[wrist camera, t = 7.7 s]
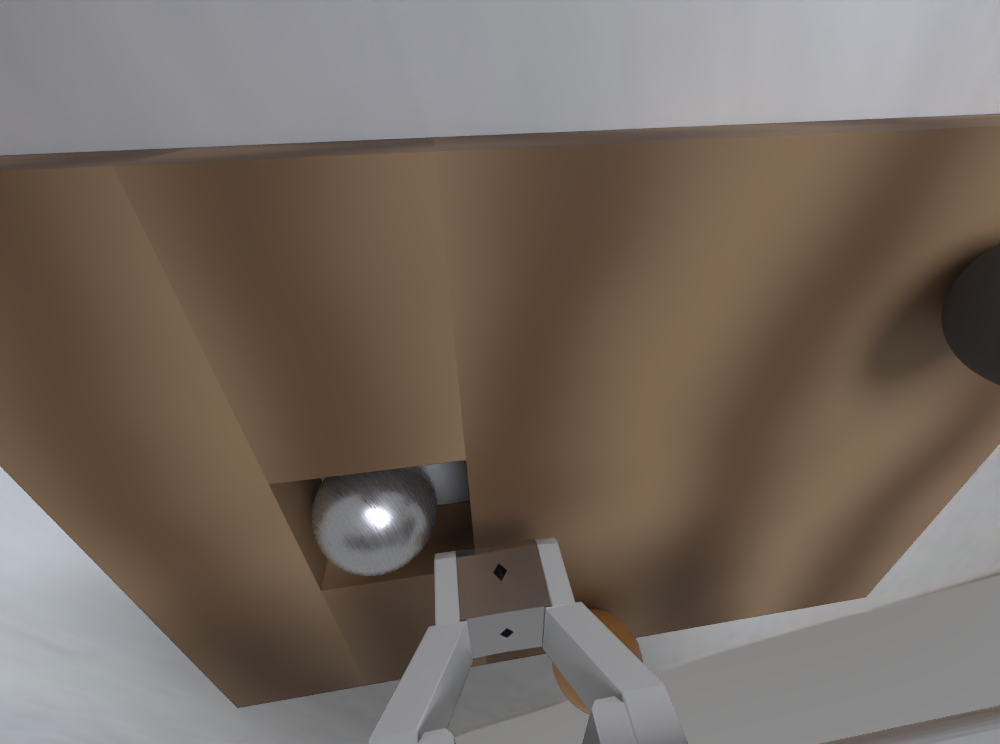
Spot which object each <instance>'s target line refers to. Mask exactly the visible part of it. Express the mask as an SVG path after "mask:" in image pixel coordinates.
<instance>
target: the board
mask: <svg viewBox="0 0 1000 744" xmlns="http://www.w3.org/2000/svg"><path fill="white" fill-rule="evenodd" d="M999 243H1000V114H984V115H961V116H937V117H913V118H889V119H865V120H841V121H817V122H793V123H769V124H745V125H721V126H697V127H673V128H649V129H625V130H602V131H578V132H554V133H530V134H506V135H482V136H458V137H434V138H410V139H386V140H362V141H338V142H314V143H290V144H266V145H243V146H219V147H195V148H171V149H147V150H123V151H99V152H75V153H51V154H27V155H3V156H0V466H1V467H2V468H3V469H4V470H5V471H6V472H7V473H8V474H9V475H10V476H11V477H12V478H13V479H14V481H15V482H16V483H17V484H18V485H19V486H20V487H21V488H22V489H23V490H24V491H25V492H26V493H27V494H28V495H29V496H30V497H31V498H32V499H33V500H34V501H35V502H36V503H37V504H38V505H39V506H40V507H41V508H42V509H43V510H44V511H45V512H46V513H47V514H48V515H49V516H50V517H51V518H52V519H53V520H54V521H55V522H56V523H57V524H58V525H59V526H60V527H61V528H62V529H63V530H64V532H65V533H66V534H67V535H68V536H69V537H70V538H71V539H72V540H73V541H74V542H75V543H76V544H77V545H78V546H79V547H80V548H81V549H82V550H83V551H84V552H85V553H86V554H87V555H88V556H89V557H90V558H91V559H92V560H93V561H94V562H95V563H96V564H97V565H98V566H99V567H100V568H101V569H102V570H103V571H104V572H105V573H106V574H107V575H108V576H109V577H110V578H111V579H112V580H113V582H114V583H115V584H116V585H117V586H118V587H119V588H120V589H121V590H122V591H123V592H124V593H125V594H126V595H127V596H128V597H129V598H130V599H131V600H132V601H133V602H134V603H135V604H136V605H137V606H138V607H139V608H140V609H141V610H142V611H143V612H144V613H145V614H146V615H147V616H148V617H149V618H150V619H151V620H152V621H153V622H154V623H155V624H156V625H157V626H158V627H159V628H160V629H161V630H162V631H163V633H164V634H165V635H166V636H167V637H168V638H169V639H170V640H171V641H172V642H173V643H174V644H175V645H176V646H177V647H178V648H179V649H180V650H181V651H182V652H183V653H184V654H185V655H186V656H187V657H188V658H189V659H190V660H191V661H192V662H193V663H194V664H195V665H196V666H197V667H198V668H199V669H200V670H201V671H202V672H203V673H204V674H205V675H206V676H207V677H208V678H209V679H210V680H211V681H212V682H213V684H214V685H215V686H216V687H217V688H218V689H219V690H220V691H221V692H222V693H223V694H224V695H225V696H226V697H227V698H228V699H229V700H230V701H231V702H232V703H233V704H234V705H235V706H236V707H237V708H240V707H246V706H252V705H257V704H263V703H269V702H274V701H280V700H286V699H291V698H297V697H303V696H308V695H314V694H320V693H325V692H331V691H337V690H342V689H348V688H354V687H359V686H365V685H371V684H376V683H382V682H388V681H393V680H399V679H401V678H402V676H403V674H404V672H405V671H406V669H407V667H408V665H409V663H410V661H411V659H412V657H413V655H414V654H415V652H416V650H417V648H418V646H419V644H420V642H421V640H422V639H423V637H424V635H425V633H426V631H427V629H428V627H429V626H434V625H435V579H434V560H435V554H438V553H444V552H451V551H460V550H467V549H474V548H481V547H488V546H495V545H499V544H505V543H511V542H518V541H524V540H530V539H539V538H545V537H552V536H554V537H555V539H556V540H557V542H558V545H559V549H560V552H561V556H562V559H563V562H564V566H565V569H566V573H567V576H568V579H569V583H570V586H571V590H572V593H573V596H574V600H575V602H582V603H583V604H584V605H585V606H586V607H587V608H588V609H599V610H604V611H606V612H609V613H611V614H613V615H614V616H616V617H617V618H619V619H620V620H621V621H622V622H623V623H624V624H625V625H626V626H627V627H628V628H629V629H630V631H631V632H632V633H633V635H634V637H635V638H637V637H643V636H649V635H654V634H660V633H666V632H671V631H677V630H683V629H688V628H694V627H700V626H705V625H711V624H717V623H722V622H728V621H734V620H739V619H745V618H751V617H756V616H762V615H768V614H773V613H779V612H785V611H790V610H796V609H802V608H807V607H813V606H819V605H824V604H830V603H836V602H841V601H847V600H853V599H858V598H864V597H866V596H867V595H868V594H869V593H870V592H871V591H872V590H873V588H874V587H875V586H876V585H877V584H878V583H879V582H880V580H881V579H882V578H883V577H884V576H885V575H886V573H887V572H888V571H889V570H890V569H891V568H892V567H893V565H894V564H895V563H896V562H897V561H898V560H899V559H900V557H901V556H902V555H903V554H904V553H905V552H906V551H907V549H908V548H909V547H910V546H911V545H912V544H913V542H914V541H915V540H916V539H917V538H918V537H919V536H920V534H921V533H922V532H923V531H924V530H925V529H926V528H927V526H928V525H929V524H930V523H931V522H932V521H933V520H934V518H935V517H936V516H937V515H938V514H939V513H940V511H941V510H942V509H943V508H944V507H945V506H946V505H947V503H948V502H949V501H950V500H951V499H952V498H953V497H954V495H955V494H956V493H957V492H958V491H959V490H960V489H961V487H962V486H963V485H964V484H965V483H966V482H967V481H968V479H969V478H970V477H971V476H972V475H973V474H974V472H975V471H976V470H977V469H978V468H979V467H980V466H981V464H982V463H983V462H984V461H985V460H986V459H987V458H988V456H989V455H990V454H991V453H992V452H993V451H994V450H995V448H996V447H997V446H998V445H999V444H1000V385H997V384H995V383H993V382H990V381H988V380H987V379H985V378H983V377H981V376H980V375H978V374H976V373H975V372H973V371H972V370H971V369H969V368H968V367H967V366H965V365H964V364H963V363H962V362H961V361H960V360H959V359H958V358H957V356H956V355H955V354H954V353H953V351H952V350H951V348H950V347H949V345H948V343H947V341H946V339H945V336H944V333H943V329H942V319H941V315H942V309H943V304H944V300H945V298H946V295H947V293H948V291H949V289H950V288H951V286H952V284H953V283H954V281H955V280H956V278H957V277H958V276H959V275H960V274H961V272H962V271H963V270H964V269H965V268H966V267H967V266H968V265H969V264H971V263H972V262H973V261H974V260H975V259H977V258H978V257H979V256H981V255H982V254H983V253H985V252H986V251H988V250H989V249H991V248H992V247H994V246H996V245H998V244H999ZM462 460H466V469H467V479H468V489H469V499H470V502H463V503H455V504H448V505H441V506H437V507H438V508H437V518H436V522H435V526H434V529H433V532H432V534H431V536H430V538H429V540H428V542H427V543H426V545H425V546H424V548H423V549H422V550H421V551H420V553H419V554H418V555H417V556H416V557H415V558H414V559H412V560H411V561H410V562H409V563H407V564H406V565H404V566H403V567H401V568H399V569H397V570H395V571H393V572H390V573H386V574H383V575H377V576H362V575H356V574H352V573H349V572H346V571H344V570H342V569H340V568H338V567H337V566H336V565H334V564H333V563H331V562H330V561H329V560H328V559H327V558H326V556H325V555H324V554H323V553H322V551H321V550H320V548H319V546H318V544H317V542H316V540H315V536H314V533H313V528H312V509H313V503H314V500H315V496H316V494H317V491H318V489H319V487H320V485H321V484H322V482H321V479H320V478H325V477H333V476H341V475H349V474H357V473H365V472H373V471H381V470H389V469H397V468H405V467H413V466H421V465H430V464H438V463H446V462H454V461H462ZM541 654H546V652H545V651H544V650H543V646H542V647H535V648H528V649H522V650H515V651H508V650H507V652H503V653H498V654H493V655H488V656H483V657H478V658H473V659H472V660H473V662H472V665H471V667H473V666H479V665H484V664H490V663H496V662H501V661H507V660H513V659H518V658H524V657H530V656H535V655H541Z"/></svg>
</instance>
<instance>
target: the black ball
mask: <svg viewBox="0 0 1000 744" xmlns="http://www.w3.org/2000/svg"><path fill="white" fill-rule="evenodd" d="M941 319H942V329H943V333H944V336H945V339H946V341H947V343H948V345H949V347H950V348H951V350H952V351H953V353H954V354H955V355H956V356H957V358H958V359H959V360H960V361H961V362H962V363H963V364H964V365H965V366H967V367H968V368H969V369H971V370H972V371H973V372H975V373H976V374H978V375H980V376H981V377H983V378H985V379H987V380H988V381H990V382H993V383H995V384H997V385H1000V243H999V244H998V245H996V246H994V247H992V248H991V249H989V250H988V251H986V252H985V253H983V254H982V255H981V256H979V257H978V258H977V259H975V260H974V261H973V262H972V263H971V264H969V265H968V266H967V267H966V268H965V269H964V270H963V271H962V272H961V274H960V275H959V276H958V277H957V278H956V280H955V281H954V283H953V284H952V286H951V288H950V289H949V291H948V293H947V295H946V298H945V300H944V304H943V309H942V315H941Z"/></svg>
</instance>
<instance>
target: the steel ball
mask: <svg viewBox="0 0 1000 744" xmlns="http://www.w3.org/2000/svg"><path fill="white" fill-rule="evenodd" d="M437 508H438V507H437V496H436V491H435V488H434V485H433V483H432V481H431V478H430V477H429V475H428V473H427V472H426V471H425V469H424V468H423V467H422V466H413V467H405V468H397V469H389V470H381V471H373V472H365V473H357V474H349V475H341V476H333V477H325V479H324V480H323V482H322V484H321V485H320V487H319V489H318V491H317V494H316V496H315V500H314V503H313V509H312V528H313V533H314V536H315V540H316V542H317V544H318V546H319V548H320V550H321V551H322V553H323V554H324V555H325V556H326V558H327V559H328V560H329V561H330V562H331V563H333V564H334V565H336V566H337V567H338V568H340V569H342V570H344V571H346V572H349V573H352V574H356V575H362V576H377V575H383V574H386V573H390V572H393V571H395V570H397V569H399V568H401V567H403V566H404V565H406V564H407V563H409V562H410V561H411V560H412V559H414V558H415V557H416V556H417V555H418V554H419V553H420V551H421V550H422V549H423V548H424V546H425V545H426V543H427V542H428V540H429V538H430V536H431V534H432V532H433V529H434V526H435V522H436V518H437Z"/></svg>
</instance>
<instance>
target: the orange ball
mask: <svg viewBox="0 0 1000 744" xmlns="http://www.w3.org/2000/svg"><path fill="white" fill-rule="evenodd" d="M589 610H590V611H591V612H592V613H593V614H594V615H595V616H596V617H597V618H598V619H599V620H600V621H601V622H602V623H603V624H604V625H605V626H606V627H607V628H608V629H609V630H610V631H611V632H612V633H613V634H614V635H615V636H616V637H617V638H618V639H619V640H620V641H621V642H622V643H623V644H624V645H625V646H626V647H627V648H628V649H629V650H630V651H631V652H632V653H633V654H634V655H635V656H636V657H637V658H638V659H639V660H640V661H641V662H642V663H643V659H642V654H641V651H640V648H639V645H638V643H637V641H636V638H635V637H634V635H633V633H632V632H631V631H630V629H629V628H628V627H627V626H626V625H625V624H624V623H623V622H622V621H621V620H620V619H619V618H617V617H616V616H614V615H613V614H611V613H609V612H606V611H604V610H599V609H589ZM552 664H553V670H554V674H555V677H556V680H557V682H558V685H559V687H560V688H561V690H562V692H563V693H564V695H565V696H566V697H567V699H568V700H569V701H570V702H571V703H572V704H573V705H575V706H576V707H577V708H578V709H580V710H582V711H583V712H585V713H587V714H590V713H591V712H590V710H589V709H588V708H587V706H586V705H585V704H584V702H583V701H582V700H581V698H580V697H579V696H578V694H577V693H576V692H575V690H574V689H573V688H572V687H571V685H570V684H569V683H568V681H567V680H566V679H565V677H564V676H563V675H562V673H561V672H560V671H559V669H558V668H557V667H556V665H555V664H554V663H553V661H552Z"/></svg>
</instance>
